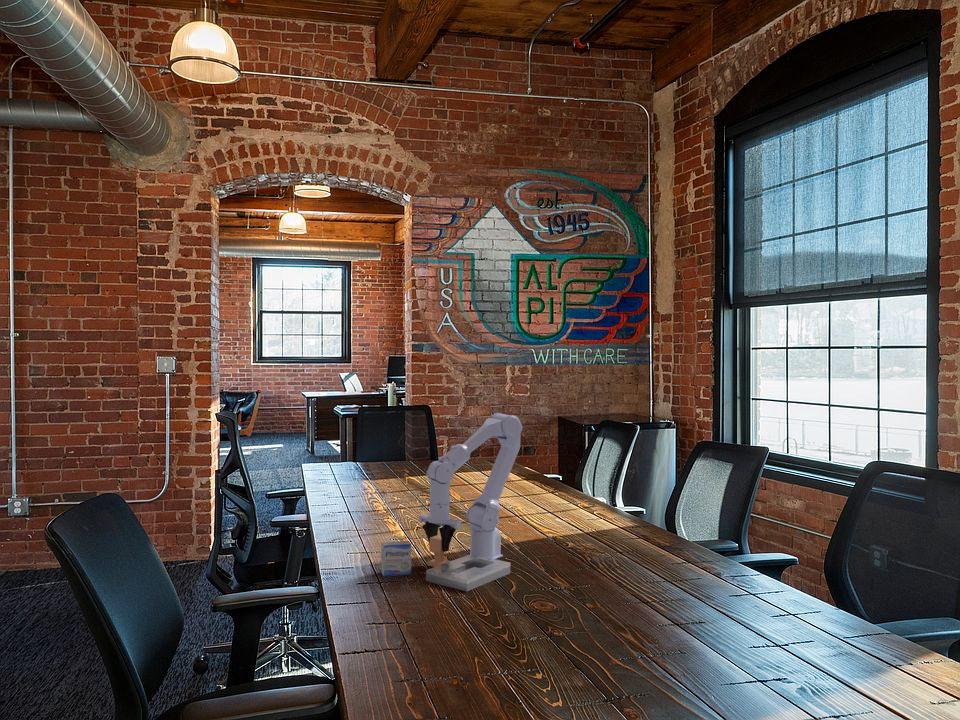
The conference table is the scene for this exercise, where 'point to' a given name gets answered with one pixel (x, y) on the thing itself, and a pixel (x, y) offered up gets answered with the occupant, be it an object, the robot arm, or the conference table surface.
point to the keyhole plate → (468, 572)
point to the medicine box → (396, 558)
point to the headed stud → (437, 551)
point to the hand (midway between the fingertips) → (439, 549)
